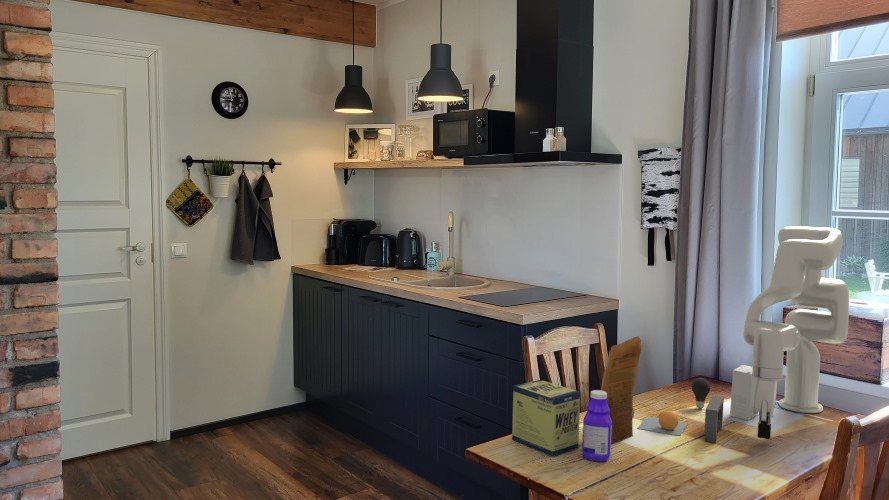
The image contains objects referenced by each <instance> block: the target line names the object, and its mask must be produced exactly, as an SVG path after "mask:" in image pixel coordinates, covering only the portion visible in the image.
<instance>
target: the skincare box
mask: <svg viewBox="0 0 889 500" xmlns="http://www.w3.org/2000/svg"><path fill="white" fill-rule="evenodd" d="M752 368H753V366H750V365H745V364H742V365H740V366H739V367H737V368H734V369H732V381H731V394H730V411H729V412H730V413H729V415H730V417H732V418H733V417H734V418H738V419H741V420H745V421H749V420H751V419H753V418H754V417H755V416H757V415H758V414H756V415H755V414H754V413H753V409H754V394H755V382H756V378H754V377H753V376H752Z"/></svg>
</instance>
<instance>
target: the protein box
mask: <svg viewBox="0 0 889 500" xmlns="http://www.w3.org/2000/svg"><path fill="white" fill-rule="evenodd" d="M512 389H513V390H512V391H513V393H512V396H513V397H512V399H513V400H512V425H511V426H512V433H511V440H512V441H514V442H517V443H518V444H520V445H521V444H522V445H523V446H526V447H528V448H530V449H533V450H535V451H538V452H540V453H542V454H545V455H548V456H550V457H556V456H558V455H561V454H565V453H567V452H570V451H574V450H576V449H577V450H578V449H579V443H580V442H579V440H580V439H579V437H580V410H581V391H578V390H576V389H572V388H568V387H565V386H562V385H558V384H554V383H552V382H549V381H546V380H543V379H537V380H533V381H530V382H524V383H519V384H515V385H513V388H512Z"/></svg>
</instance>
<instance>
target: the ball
mask: <svg viewBox="0 0 889 500" xmlns="http://www.w3.org/2000/svg"><path fill="white" fill-rule="evenodd" d="M658 421H659V424H660V426H661V427H662V428H664V429H666V430H672V429H674V428H676V427H677V425H678V422H679V417H678V415H677V414H676V413H675V412H674V411H673V410H663V411H662V412H661V413H660V414H659V415H658Z"/></svg>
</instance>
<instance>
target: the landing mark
mask: <svg viewBox="0 0 889 500" xmlns="http://www.w3.org/2000/svg"><path fill="white" fill-rule="evenodd" d="M658 419H659V417H651V416H646V417H644V419H643V420H642V421H641V423H640V424H639V426H638V427H637V428H636V429H637V430H641V431H649V432H654V433H659V434H667V435H673V436H678V437H681V436H682V434H683V433H684V431H685V429H686V427H687V426H688V422H682V421H678V425H677V427H676V428H674V429H672V430H666V429H664V428H662V427H661V426H660V424H659V421H658Z"/></svg>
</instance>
